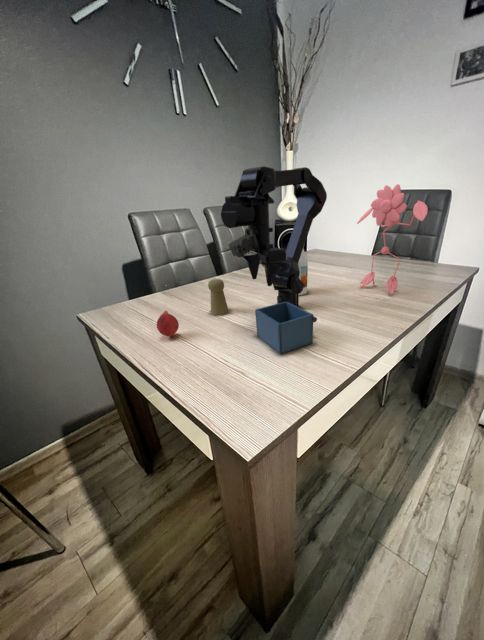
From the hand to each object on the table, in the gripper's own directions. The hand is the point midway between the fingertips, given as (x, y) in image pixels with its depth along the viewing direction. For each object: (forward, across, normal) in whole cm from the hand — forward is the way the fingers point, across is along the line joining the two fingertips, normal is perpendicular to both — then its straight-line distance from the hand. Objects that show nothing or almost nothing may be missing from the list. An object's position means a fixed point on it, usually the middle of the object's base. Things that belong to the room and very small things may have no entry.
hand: (261, 282), depth 80 cm
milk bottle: (+12, -16, +24) cm, 31 cm away
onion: (+12, -5, -28) cm, 31 cm away
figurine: (+12, +1, +47) cm, 49 cm away
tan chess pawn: (+12, -15, -9) cm, 21 cm away
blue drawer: (+12, +15, 0) cm, 19 cm away
